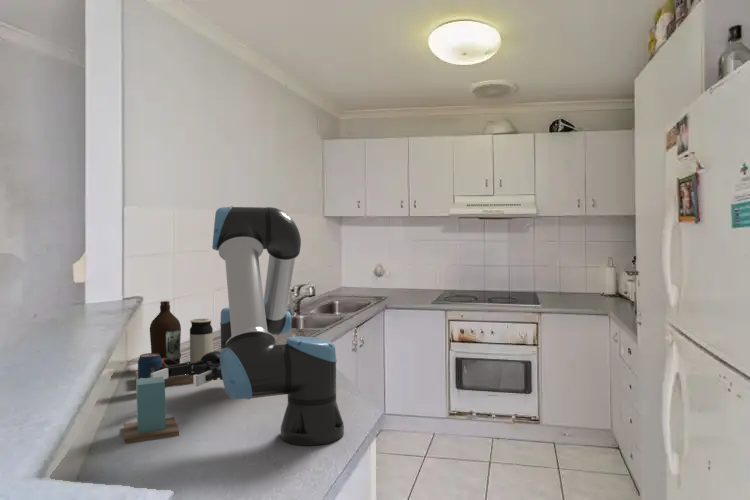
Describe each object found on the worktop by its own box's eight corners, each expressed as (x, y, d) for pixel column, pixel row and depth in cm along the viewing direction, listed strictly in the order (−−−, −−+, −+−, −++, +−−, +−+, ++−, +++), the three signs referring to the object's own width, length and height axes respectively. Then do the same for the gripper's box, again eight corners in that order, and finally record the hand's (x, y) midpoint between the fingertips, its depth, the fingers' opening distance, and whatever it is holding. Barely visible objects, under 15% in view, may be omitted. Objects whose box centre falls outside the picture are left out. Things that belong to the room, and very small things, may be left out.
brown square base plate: (179, 435, 134) (178, 398, 134) (124, 443, 129) (124, 405, 129) (174, 420, 145) (173, 386, 145) (123, 427, 140) (123, 392, 140)
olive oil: (143, 371, 200) (142, 302, 200) (166, 365, 210) (165, 299, 209) (165, 374, 196) (164, 303, 195) (187, 368, 205) (186, 300, 205)
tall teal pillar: (165, 429, 136) (164, 382, 136) (137, 433, 133) (137, 385, 133) (163, 421, 141) (162, 376, 141) (136, 425, 139) (136, 379, 139)
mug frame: (193, 383, 183) (193, 374, 183) (137, 389, 176) (137, 380, 176) (188, 373, 197) (187, 365, 197) (135, 379, 190) (135, 370, 189)
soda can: (149, 389, 176) (149, 351, 176) (167, 391, 174) (166, 353, 173) (133, 395, 170) (132, 356, 169) (151, 397, 167) (150, 357, 167)
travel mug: (204, 372, 199) (203, 321, 199) (185, 370, 202) (184, 320, 201) (217, 367, 206) (216, 318, 206) (199, 365, 209) (199, 317, 209)
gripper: (255, 377, 164) (216, 396, 144) (180, 373, 170) (134, 391, 150) (254, 352, 164) (216, 367, 144) (180, 349, 170) (133, 363, 150)
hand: (174, 379), depth 147 cm, fingers open, 13 cm apart
